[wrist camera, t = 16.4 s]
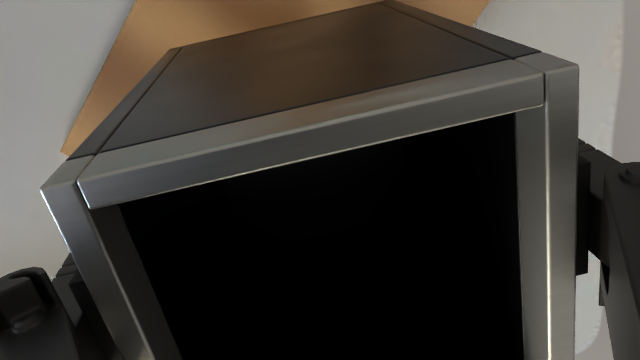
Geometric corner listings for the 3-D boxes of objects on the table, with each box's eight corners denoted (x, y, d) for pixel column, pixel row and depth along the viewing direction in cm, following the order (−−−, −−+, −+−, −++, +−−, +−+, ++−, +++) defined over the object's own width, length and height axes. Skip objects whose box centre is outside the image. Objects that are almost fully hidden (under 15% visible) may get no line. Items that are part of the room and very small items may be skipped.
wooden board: (296, 263, 30) (296, 267, 30) (62, 149, 26) (59, 152, 25) (519, -45, 24) (523, -45, 24) (267, -260, 20) (267, -264, 20)
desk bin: (573, 464, 12) (581, 63, 8) (215, 551, 12) (36, 188, 8) (420, 215, 24) (391, -2, 20) (236, 258, 24) (168, 48, 20)
